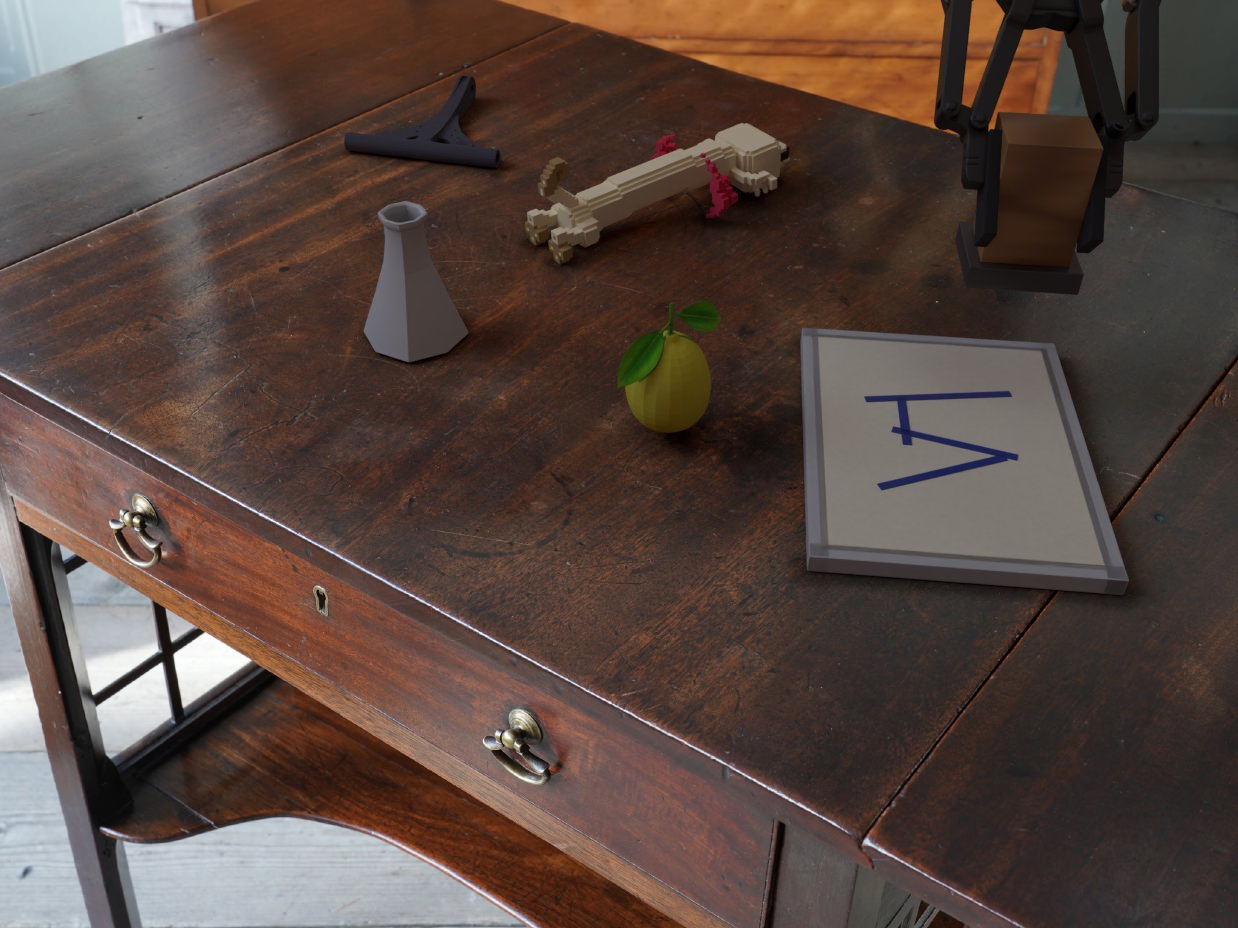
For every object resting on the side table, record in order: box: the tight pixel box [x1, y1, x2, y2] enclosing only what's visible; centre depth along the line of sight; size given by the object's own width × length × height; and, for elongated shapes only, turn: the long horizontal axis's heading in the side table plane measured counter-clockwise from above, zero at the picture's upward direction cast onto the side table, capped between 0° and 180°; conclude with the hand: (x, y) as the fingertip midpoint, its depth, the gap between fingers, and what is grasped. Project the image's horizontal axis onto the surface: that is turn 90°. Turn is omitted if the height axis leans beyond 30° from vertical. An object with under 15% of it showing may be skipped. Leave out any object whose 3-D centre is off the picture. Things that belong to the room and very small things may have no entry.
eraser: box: [954, 111, 1103, 296], centre depth 76 cm, size 7×6×10 cm
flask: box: [363, 200, 469, 363], centre depth 86 cm, size 7×7×10 cm
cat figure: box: [524, 122, 790, 265], centre depth 101 cm, size 10×9×25 cm
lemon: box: [616, 299, 722, 434], centre depth 78 cm, size 7×6×10 cm
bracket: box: [343, 74, 501, 169], centre depth 116 cm, size 14×15×3 cm
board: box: [799, 327, 1130, 596], centre depth 79 cm, size 18×24×1 cm
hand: (1037, 243), depth 74 cm, fingers closed on eraser, 5 cm apart
